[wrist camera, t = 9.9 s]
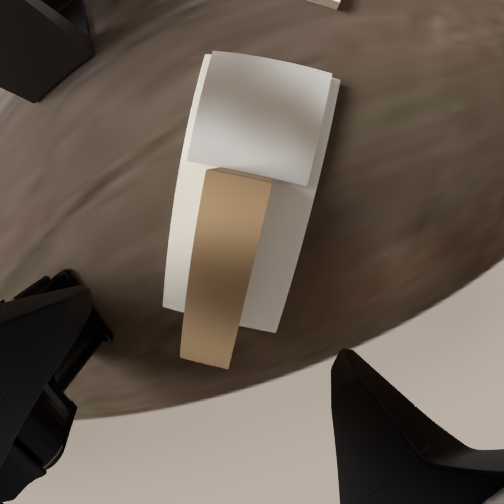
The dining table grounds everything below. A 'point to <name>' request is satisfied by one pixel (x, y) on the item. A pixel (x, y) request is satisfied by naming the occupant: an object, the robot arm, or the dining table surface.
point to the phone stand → (41, 44)
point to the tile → (327, 3)
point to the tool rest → (272, 233)
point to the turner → (242, 182)
